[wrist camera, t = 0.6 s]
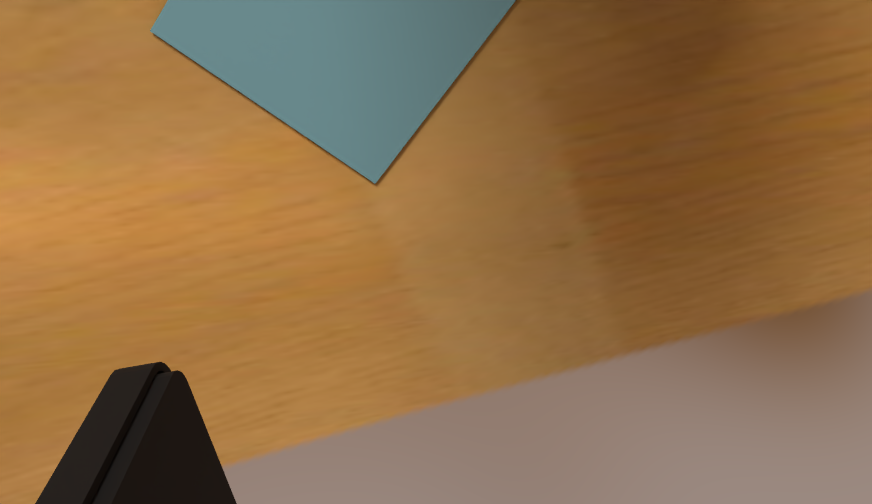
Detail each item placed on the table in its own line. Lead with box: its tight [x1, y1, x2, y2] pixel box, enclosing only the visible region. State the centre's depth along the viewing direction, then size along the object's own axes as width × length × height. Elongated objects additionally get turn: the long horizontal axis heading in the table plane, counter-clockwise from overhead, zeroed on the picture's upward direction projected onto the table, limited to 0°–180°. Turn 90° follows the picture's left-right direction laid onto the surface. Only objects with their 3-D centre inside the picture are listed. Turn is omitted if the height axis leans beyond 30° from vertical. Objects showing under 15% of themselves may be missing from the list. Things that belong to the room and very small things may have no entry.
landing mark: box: [150, 0, 516, 183], centre depth 36 cm, size 12×12×1 cm
